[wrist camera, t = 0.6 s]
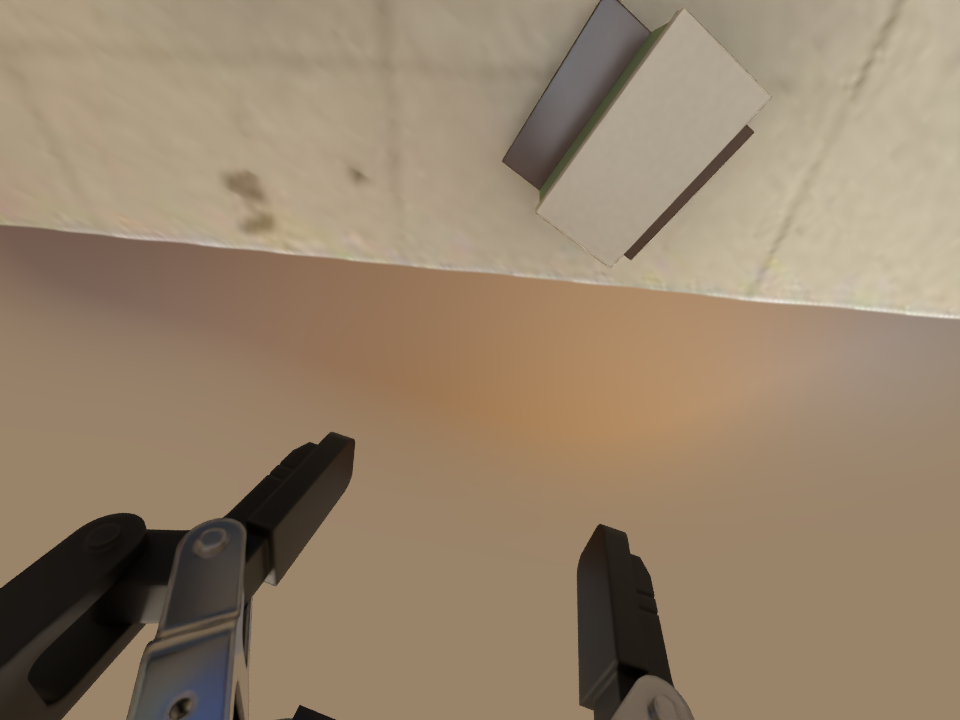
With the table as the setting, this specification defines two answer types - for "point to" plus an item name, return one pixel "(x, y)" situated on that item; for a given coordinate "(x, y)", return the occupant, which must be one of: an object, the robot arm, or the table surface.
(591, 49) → the low shelf
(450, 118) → the table surface
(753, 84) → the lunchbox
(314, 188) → the table surface
